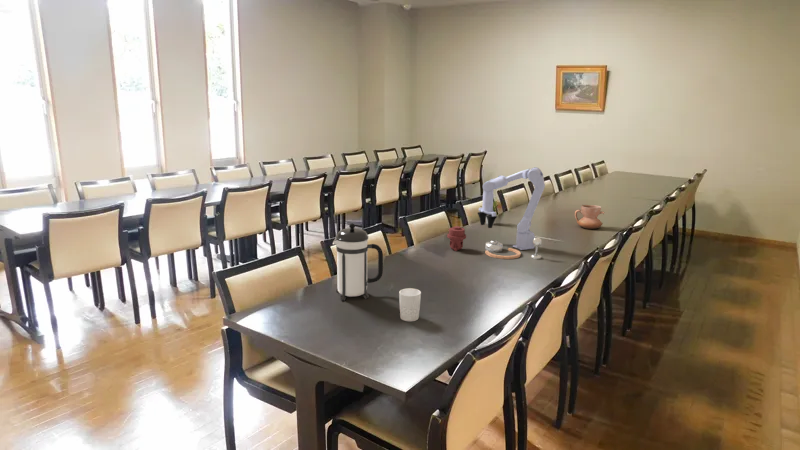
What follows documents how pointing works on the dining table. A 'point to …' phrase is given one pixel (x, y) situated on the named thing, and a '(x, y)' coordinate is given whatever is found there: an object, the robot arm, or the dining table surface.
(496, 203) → the house plant
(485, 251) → the ring
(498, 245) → the cast cover
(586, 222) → the ceramic jug
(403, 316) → the white cup
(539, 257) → the wine glass
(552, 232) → the dining table surface
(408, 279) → the dining table surface
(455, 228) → the mechanical component
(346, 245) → the coffee press
